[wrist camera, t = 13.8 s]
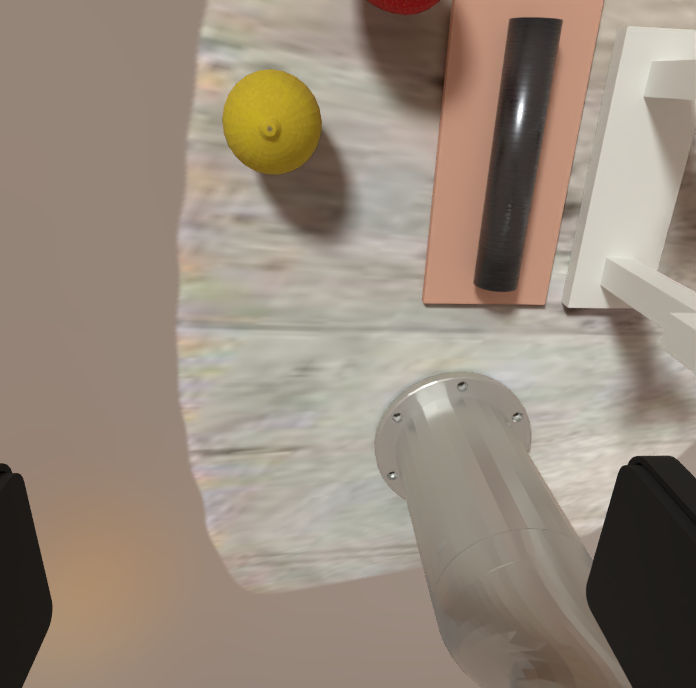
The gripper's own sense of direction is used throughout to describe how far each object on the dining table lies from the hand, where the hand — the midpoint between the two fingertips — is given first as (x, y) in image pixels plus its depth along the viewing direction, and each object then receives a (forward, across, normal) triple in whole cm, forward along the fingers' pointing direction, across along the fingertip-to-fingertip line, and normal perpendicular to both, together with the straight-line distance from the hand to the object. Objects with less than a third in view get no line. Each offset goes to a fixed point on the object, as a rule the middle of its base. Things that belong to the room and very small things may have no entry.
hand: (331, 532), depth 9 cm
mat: (+32, -13, -2) cm, 35 cm away
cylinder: (+30, -13, -2) cm, 33 cm away
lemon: (+32, +2, -4) cm, 33 cm away
